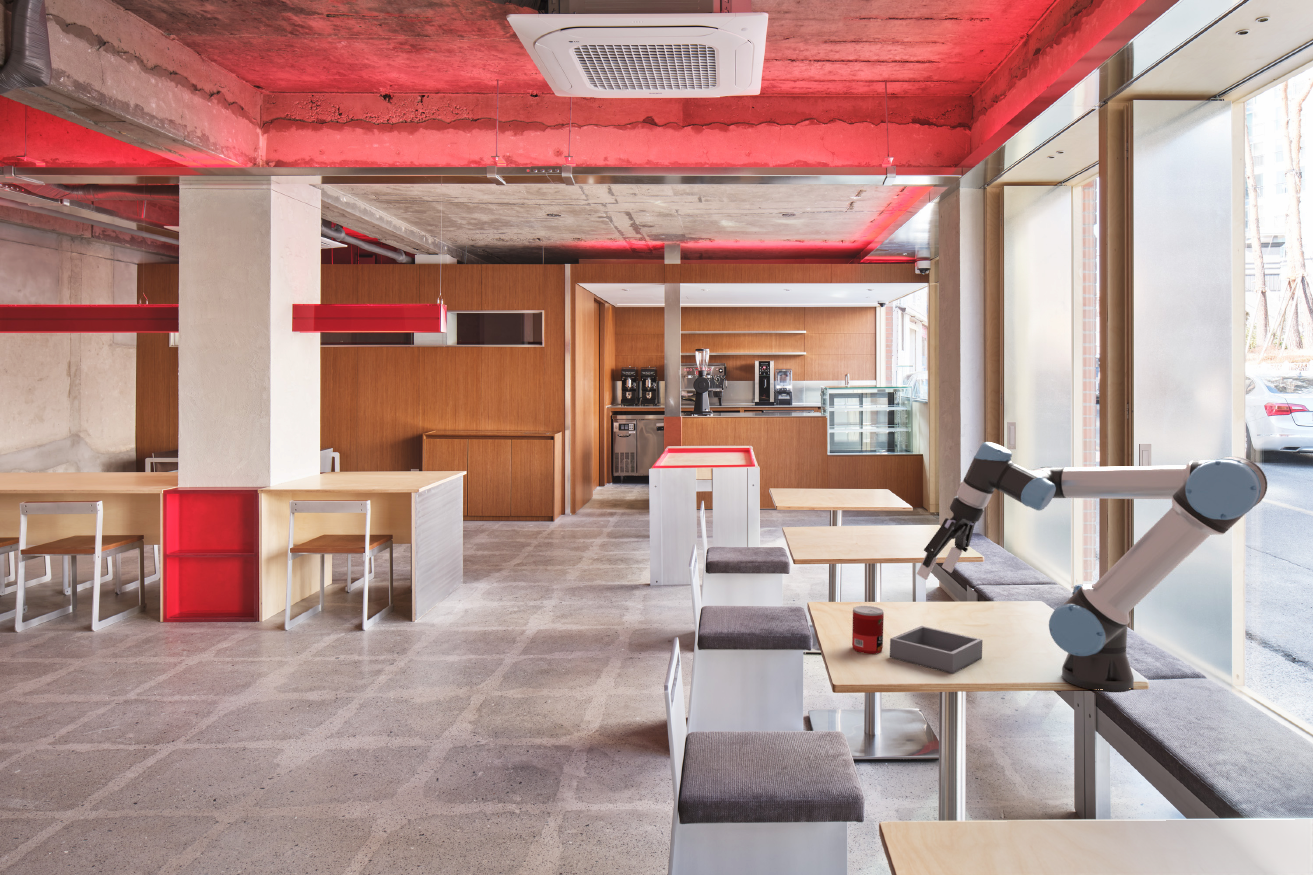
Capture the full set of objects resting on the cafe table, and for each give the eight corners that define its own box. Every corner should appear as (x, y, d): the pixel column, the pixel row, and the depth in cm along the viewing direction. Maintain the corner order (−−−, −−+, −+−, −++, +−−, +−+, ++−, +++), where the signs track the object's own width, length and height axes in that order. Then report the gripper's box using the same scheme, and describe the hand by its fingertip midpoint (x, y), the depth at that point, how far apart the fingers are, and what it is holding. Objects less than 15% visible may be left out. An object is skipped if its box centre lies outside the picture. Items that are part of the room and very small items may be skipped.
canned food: (883, 655, 212) (884, 614, 211) (852, 652, 214) (853, 612, 213) (881, 646, 220) (882, 606, 219) (851, 644, 221) (852, 604, 221)
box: (981, 658, 210) (982, 639, 210) (952, 673, 198) (953, 653, 198) (921, 643, 222) (921, 625, 222) (889, 657, 210) (890, 638, 210)
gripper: (978, 491, 211) (944, 559, 218) (933, 497, 193) (898, 571, 200) (1004, 505, 206) (968, 574, 213) (960, 513, 189) (923, 588, 196)
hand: (934, 573), depth 207 cm, fingers open, 13 cm apart
